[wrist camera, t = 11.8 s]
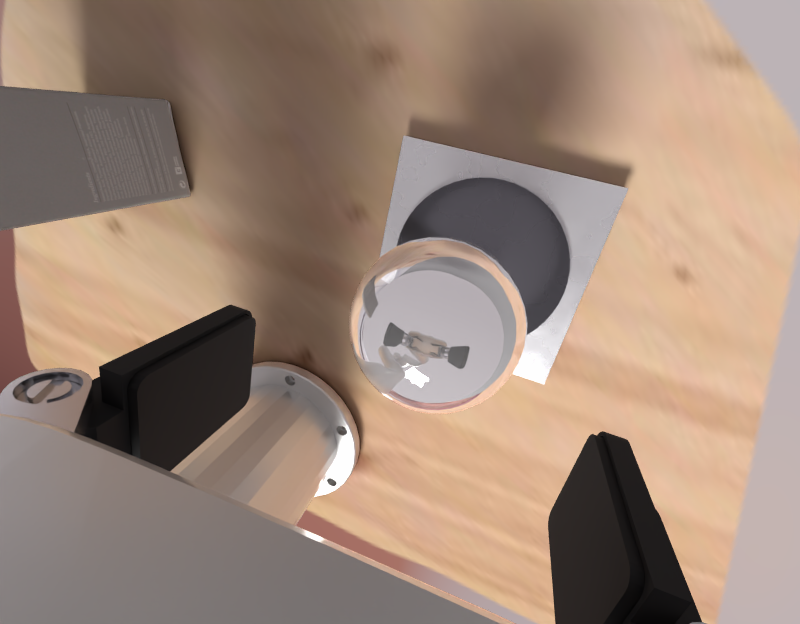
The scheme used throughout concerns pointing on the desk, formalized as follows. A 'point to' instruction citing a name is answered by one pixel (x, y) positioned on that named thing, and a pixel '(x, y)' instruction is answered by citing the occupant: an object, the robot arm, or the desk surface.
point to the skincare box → (84, 155)
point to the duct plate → (509, 228)
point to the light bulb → (438, 325)
